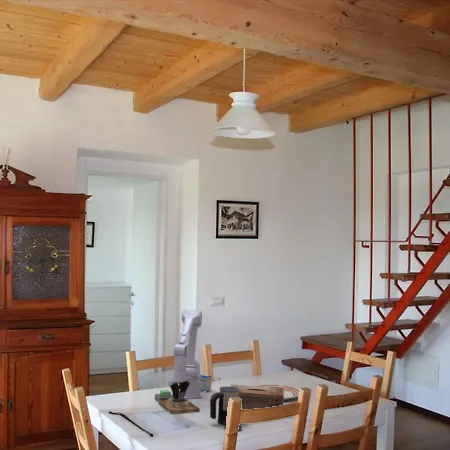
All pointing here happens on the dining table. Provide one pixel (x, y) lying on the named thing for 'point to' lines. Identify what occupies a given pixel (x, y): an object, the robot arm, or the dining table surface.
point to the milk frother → (222, 403)
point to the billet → (179, 397)
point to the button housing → (160, 398)
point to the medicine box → (205, 382)
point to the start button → (165, 393)
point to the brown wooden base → (178, 406)
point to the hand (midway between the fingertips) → (178, 398)
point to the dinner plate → (288, 391)
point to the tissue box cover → (260, 396)
